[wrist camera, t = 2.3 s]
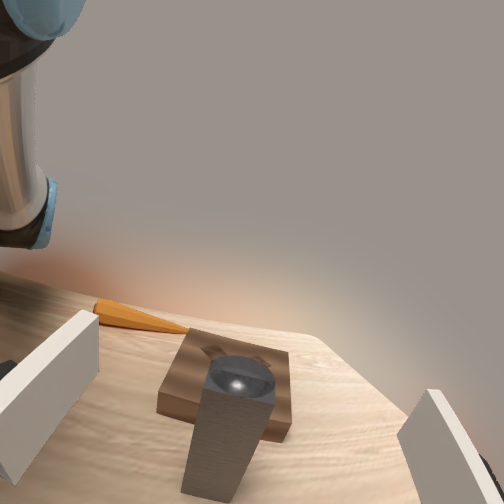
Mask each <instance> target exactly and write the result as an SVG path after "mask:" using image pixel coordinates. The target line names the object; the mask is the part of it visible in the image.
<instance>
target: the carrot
mask: <svg viewBox="0 0 504 504" xmlns="http://www.w3.org/2000/svg"><path fill="white" fill-rule="evenodd" d="M93 314H96V315H99V322H100V323H102V324H106V325H113V326H120V327H127V328H134V329H142V330H150V331H159V332H167V333H179V334H187V332H188V330H189V329H187V328H185V327H182V326H179V325H177V324H174V323H171V322H168V321H166V320H163V319H160V318H157V317H154V316H151V315H148V314H146V313H143V312H140V311H137V310H135V309H132V308H129V307H127V306H124V305H121V304H119V303H116V302H114V301H111V300H109V299H99V300H98V302H97V303H96V304H95V305H94V309H93Z"/></svg>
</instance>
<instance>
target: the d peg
mask: <svg viewBox="0 0 504 504" xmlns="http://www.w3.org/2000/svg"><path fill="white" fill-rule="evenodd" d="M274 406H275V377H274V375H273V374H272V372H271V371H270V370H269V369H268V368H267V367H266V366H265V365H263V364H262V363H260V362H258V361H256V360H254V359H251V358H248V357H244V356H238V355H228V356H222V357H219V358H217V359H216V360H214V361H213V362H212V363H211V365H210V367H209V370H208V374H207V377H206V380H205V383H204V386H203V390H202V395H201V399H200V404H199V408H198V413H197V417H196V422H195V426H194V431H193V436H192V440H191V445H190V450H189V454H188V459H187V464H186V468H185V473H184V478H183V483H182V488H181V493H185V494H189V495H193V496H197V497H201V498H205V499H210V500H214V501H219V502H224V503H230V501H231V499H232V497H233V495H234V493H235V491H236V489H237V487H238V485H239V483H240V481H241V479H242V477H243V475H244V473H245V471H246V469H247V466H248V464H249V462H250V460H251V458H252V456H253V454H254V452H255V449H256V447H257V445H258V443H259V441H260V438H261V436H262V434H263V432H264V429H265V427H266V425H267V423H268V420H269V418H270V416H271V413H272V411H273V409H274Z"/></svg>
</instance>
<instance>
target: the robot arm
mask: <svg viewBox="0 0 504 504" xmlns="http://www.w3.org/2000/svg"><path fill="white" fill-rule="evenodd" d="M85 1H86V0H0V247H12V248H25V249H29V250H32V249H43V248H45V247H46V246H47V245H48V243H49V240H50V235H51V228H52V222H53V216H54V210H55V202H56V196H57V182H56V181H55V180H53V179H50V178H49V177H45V175H44V173H43V171H42V170H41V168H40V167H39V166H38V165H37V164H36V160H35V140H34V105H35V103H34V102H35V82H36V69H37V68H36V67H37V61H38V60H39V59H40V58H41V57H43V56H44V55H45V54H46V52H47V51H48V50H49V49H50V48H51V46H52V45H53V43H54V42H55V40H56V38H57V37H60V36H63V35H64V34H66V33H67V32H69V31H70V29H71V28H72V27H73V25H74V24H75V22H76V21H77V19H78V17H79V15H80V12H81V10H82V8H83V6H84V3H85ZM98 373H99V315H96V314H93V313H91V312H88V311H85V310H83V309H82V310H81V311H79V312H78V313H77V314H76V315H75V316H73V317H72V318H71V319H70V320H69V321H67V322H66V323H65V324H64V325H63V326H62V327H60V328H59V329H58V330H57V331H56V332H54V333H53V334H52V335H51V336H50V337H49V338H47V339H46V340H45V341H44V342H43V343H42V344H41V345H39V346H38V347H37V348H36V349H35V350H34V351H33V352H31V353H30V354H29V355H28V356H27V357H26V358H25V359H24V360H23V361H21V362H20V363H19V364H17V363H15V362H14V361H12V360H9V361H6V362H4V363H1V364H0V476H1V477H3V478H4V479H5V480H7V481H8V482H10V483H11V484H13V485H14V486H16V484H17V483H18V481H19V480H20V478H21V477H22V475H23V474H24V473H25V471H26V470H27V468H28V467H29V465H30V464H31V463H32V461H33V460H34V458H35V457H36V455H37V454H38V453H39V451H40V450H41V448H42V447H43V446H44V444H45V443H46V442H47V440H48V439H49V437H50V436H51V435H52V433H53V432H54V431H55V429H56V428H57V426H58V425H59V424H60V422H61V421H62V420H63V418H64V417H65V416H66V414H67V413H68V412H69V410H70V409H71V408H72V406H73V405H74V404H75V402H76V401H77V400H78V398H79V397H80V396H81V395H82V393H83V392H84V391H85V389H86V388H87V387H88V385H89V384H90V383H91V382H92V380H93V379H94V378H95V376H96V375H97V374H98ZM397 437H398V440H399V442H400V445H401V448H402V450H403V453H404V456H405V458H406V461H407V464H408V467H409V469H410V472H411V475H412V478H413V481H414V484H415V487H416V490H417V492H418V495H419V498H420V501H421V504H504V493H503V491H502V489H501V487H500V485H499V483H498V481H496V477H495V475H494V474H492V470H491V468H490V466H489V464H488V463H487V461H486V460H485V459H483V457H482V456H481V455H480V454H478V453H477V451H476V449H475V447H474V446H473V444H472V442H471V440H470V439H469V437H468V435H467V433H466V432H465V430H464V428H463V427H462V425H461V423H460V421H459V420H458V418H457V416H456V415H455V413H454V412H453V410H452V408H451V407H450V405H449V403H448V402H447V400H446V399H445V397H444V395H443V394H442V392H441V391H440V390H434V389H427V390H426V391H425V393H424V394H423V396H422V398H421V399H420V401H419V403H418V404H417V406H416V407H415V409H414V410H413V412H412V413H411V415H410V416H409V418H408V419H407V420H406V422H405V423H404V425H403V426H402V428H401V429H400V431H399V432H398V433H397Z"/></svg>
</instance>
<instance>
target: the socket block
mask: <svg viewBox="0 0 504 504" xmlns="http://www.w3.org/2000/svg"><path fill="white" fill-rule="evenodd" d="M228 355H238V356H244V357H248V358H251V359H254V360H256V361H258V362H260V363H262V364H263V365H265V366H266V367H267V368H268V369H269V370H270V371H271V372H272V374H273V375H274V377H275V406H274V409H273V411H272V413H271V416H270V418H269V420H268V423H267V425H266V427H265V429H264V432H263V434H262V436H261V438H260V439H261V440H267V441H273V442H279V443H282V442H283V440H284V438H285V436H286V434H287V432H288V430H289V428H290V426H291V424H292V414H291V393H290V375H289V357H288V352H285V351H280V350H276V349H271V348H267V347H263V346H259V345H254V344H250V343H246V342H242V341H238V340H234V339H230V338H226V337H223V336H219V335H215V334H211V333H208V332H204V331H200V330H197V329H193V328H189V330H188V332H187V334H186V336H185V338H184V340H183V342H182V344H181V346H180V348H179V350H178V352H177V354H176V356H175V358H174V360H173V362H172V364H171V367H170V369H169V371H168V373H167V375H166V377H165V379H164V381H163V383H162V385H161V387H160V389H159V391H158V401H157V412H156V413H159V414H162V415H165V416H168V417H171V418H175V419H178V420H181V421H185V422H188V423H192V424H195V422H196V417H197V413H198V408H199V404H200V399H201V395H202V390H203V386H204V383H205V380H206V377H207V374H208V370H209V367H210V365H211V363H212V362H213V361H214V360H216V359H217V358H219V357H222V356H228Z"/></svg>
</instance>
